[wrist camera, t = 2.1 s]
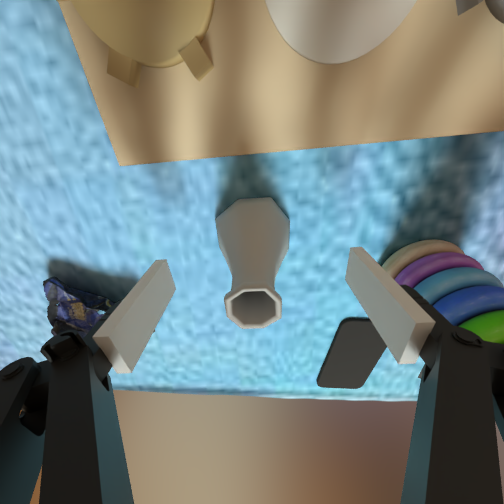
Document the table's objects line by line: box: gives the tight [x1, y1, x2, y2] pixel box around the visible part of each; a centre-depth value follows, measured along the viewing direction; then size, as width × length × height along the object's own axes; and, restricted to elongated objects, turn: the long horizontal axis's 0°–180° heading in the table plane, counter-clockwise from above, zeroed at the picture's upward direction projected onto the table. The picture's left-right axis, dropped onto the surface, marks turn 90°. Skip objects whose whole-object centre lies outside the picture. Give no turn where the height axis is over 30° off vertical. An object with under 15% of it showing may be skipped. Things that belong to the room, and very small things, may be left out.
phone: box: [317, 318, 387, 389], centre depth 29 cm, size 7×1×15 cm
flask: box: [215, 197, 290, 329], centre depth 15 cm, size 7×7×10 cm
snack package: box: [43, 277, 155, 338], centre depth 23 cm, size 12×6×12 cm
